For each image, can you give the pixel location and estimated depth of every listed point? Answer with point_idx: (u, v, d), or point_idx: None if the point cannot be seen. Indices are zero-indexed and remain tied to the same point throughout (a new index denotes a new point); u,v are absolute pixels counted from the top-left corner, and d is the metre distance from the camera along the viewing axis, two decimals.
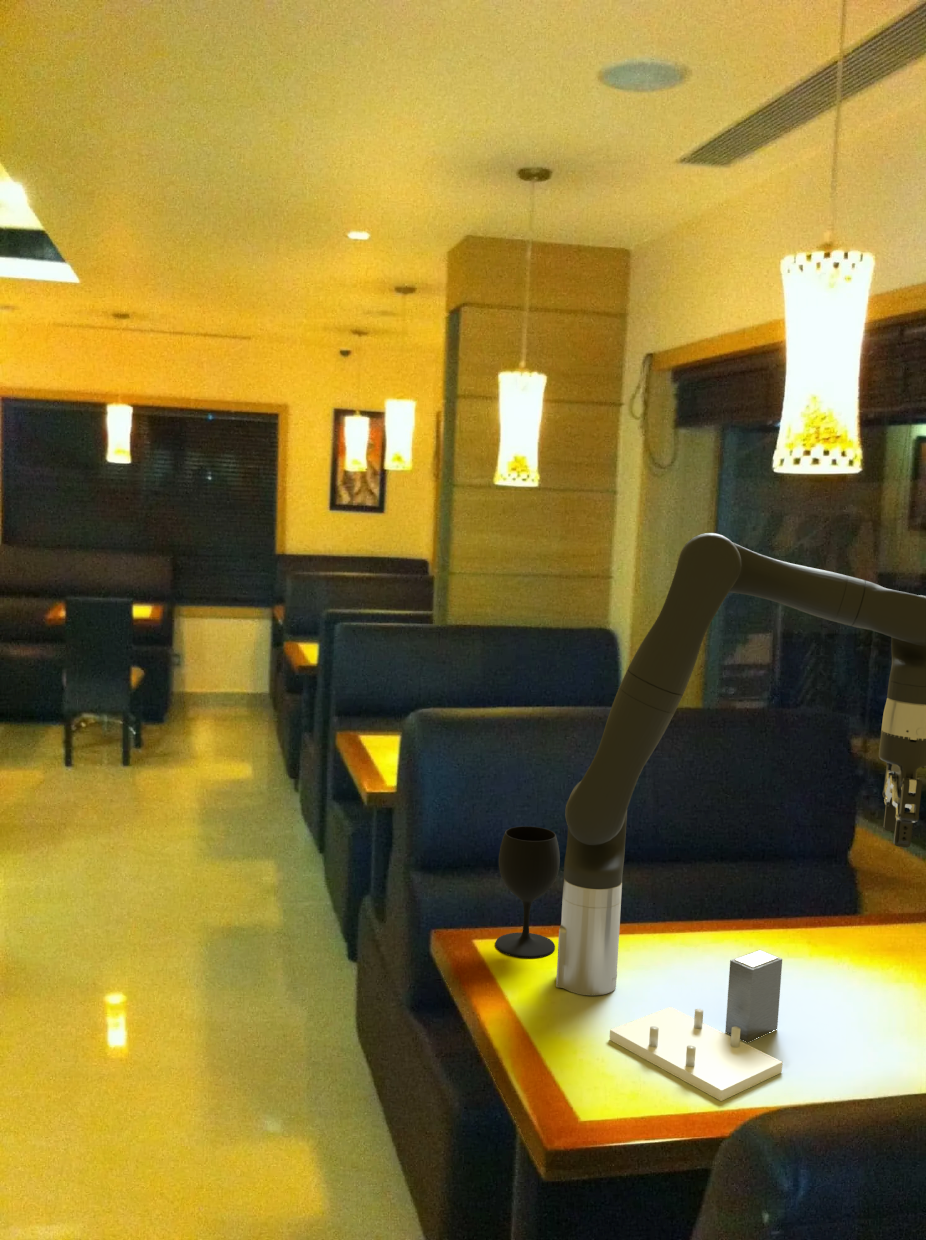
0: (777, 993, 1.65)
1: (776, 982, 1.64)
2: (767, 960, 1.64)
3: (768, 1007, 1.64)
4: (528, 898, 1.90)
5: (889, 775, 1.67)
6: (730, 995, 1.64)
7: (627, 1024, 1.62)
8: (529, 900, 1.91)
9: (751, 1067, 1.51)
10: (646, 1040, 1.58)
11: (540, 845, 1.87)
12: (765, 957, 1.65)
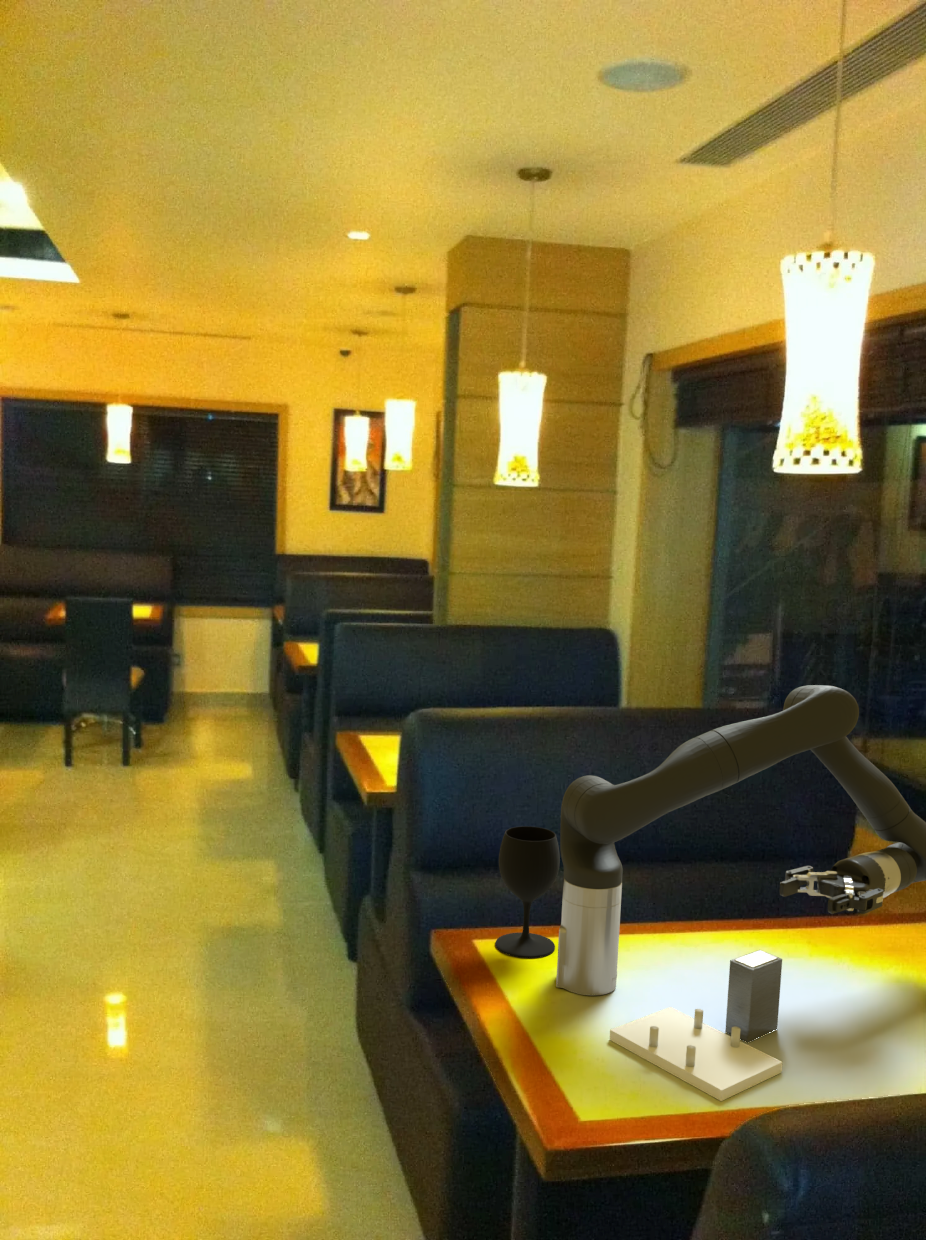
0: (777, 993, 1.65)
1: (776, 982, 1.64)
2: (767, 960, 1.64)
3: (768, 1007, 1.64)
4: (528, 898, 1.90)
5: (837, 874, 1.76)
6: (730, 995, 1.64)
7: (627, 1024, 1.62)
8: (529, 900, 1.91)
9: (751, 1067, 1.51)
10: (646, 1040, 1.58)
11: (540, 845, 1.87)
12: (765, 957, 1.65)
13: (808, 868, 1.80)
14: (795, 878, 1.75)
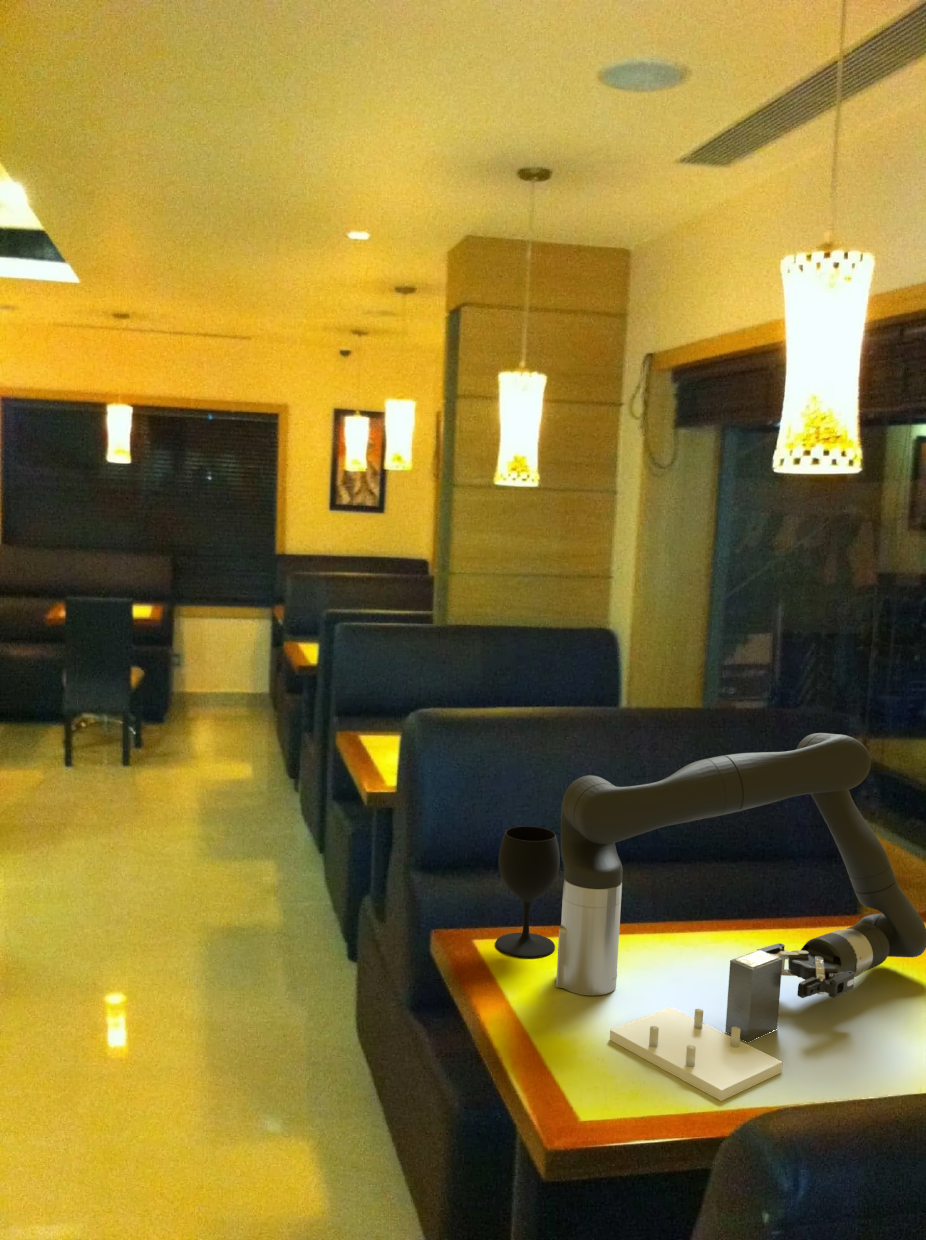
0: (777, 993, 1.65)
1: (776, 982, 1.64)
2: (767, 960, 1.64)
3: (768, 1007, 1.64)
4: (528, 898, 1.90)
5: (808, 954, 1.74)
6: (730, 995, 1.64)
7: (627, 1024, 1.62)
8: (529, 900, 1.91)
9: (751, 1067, 1.51)
10: (646, 1040, 1.58)
11: (540, 845, 1.87)
12: (765, 957, 1.65)
13: (779, 946, 1.78)
14: None
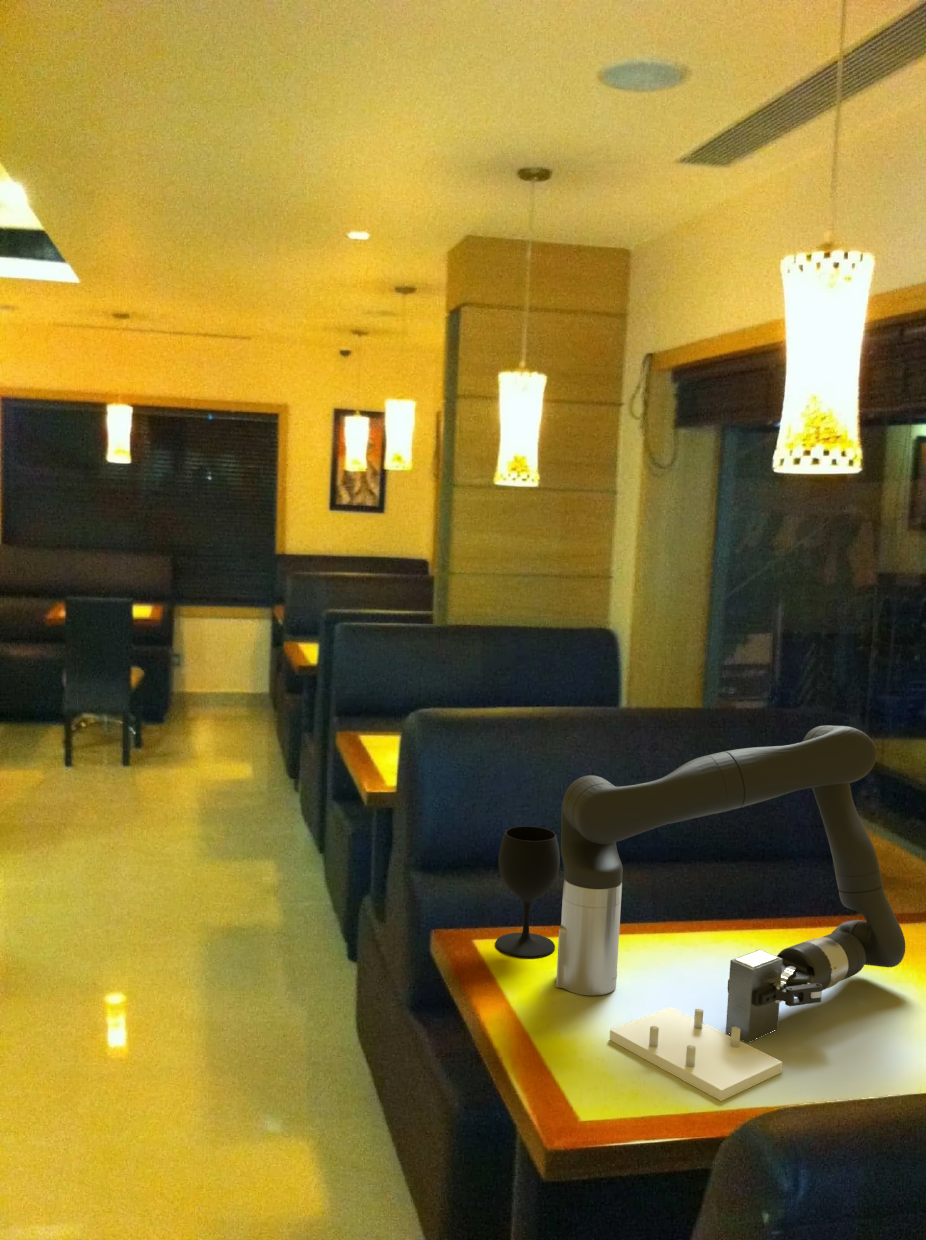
0: None
1: None
2: (767, 960, 1.63)
3: (768, 1006, 1.64)
4: (528, 898, 1.90)
5: None
6: (730, 995, 1.64)
7: (627, 1024, 1.62)
8: (529, 900, 1.91)
9: (751, 1067, 1.51)
10: (646, 1040, 1.58)
11: (540, 845, 1.87)
12: (765, 956, 1.65)
13: None
14: None
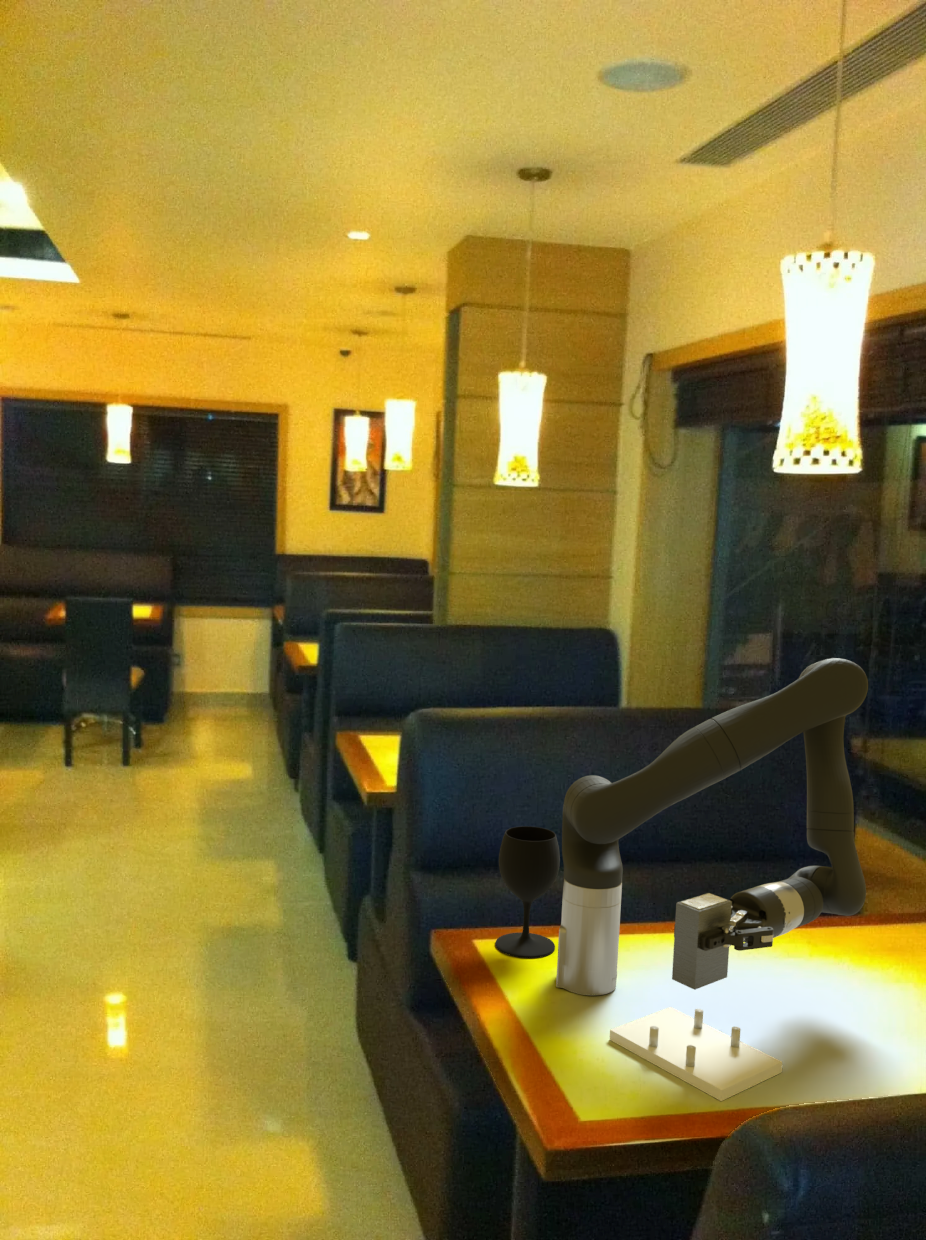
0: None
1: None
2: (715, 902, 1.54)
3: (717, 952, 1.55)
4: (528, 898, 1.90)
5: (732, 908, 1.60)
6: (676, 939, 1.54)
7: (627, 1024, 1.62)
8: (529, 900, 1.91)
9: (751, 1067, 1.51)
10: (646, 1040, 1.58)
11: (540, 845, 1.87)
12: (714, 899, 1.56)
13: None
14: None
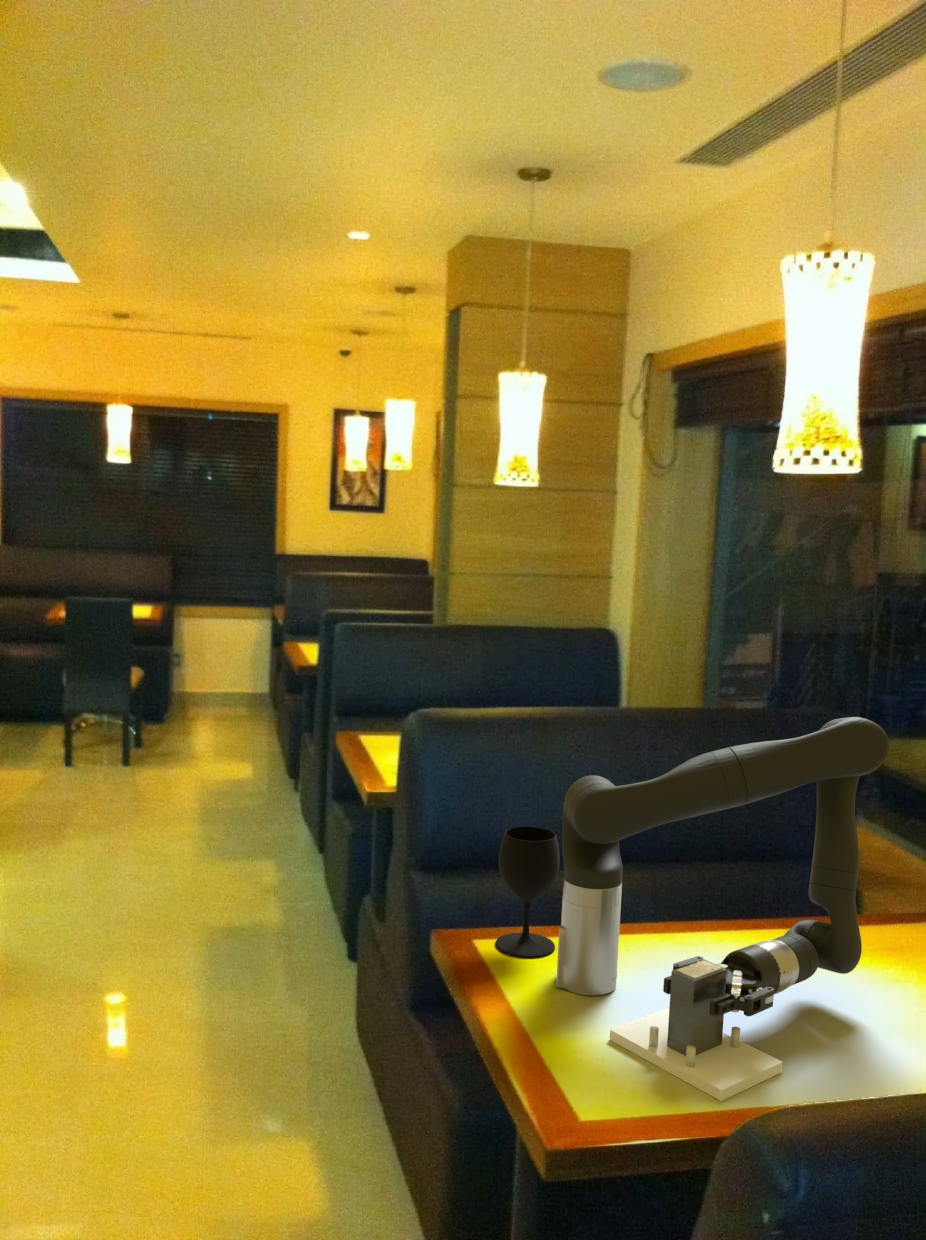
0: None
1: (720, 994, 1.56)
2: (710, 970, 1.55)
3: (711, 1019, 1.56)
4: (528, 898, 1.90)
5: (727, 968, 1.61)
6: (672, 1007, 1.55)
7: (627, 1024, 1.62)
8: (529, 900, 1.91)
9: (751, 1067, 1.51)
10: (646, 1040, 1.58)
11: (540, 845, 1.87)
12: (709, 967, 1.57)
13: (698, 959, 1.65)
14: None
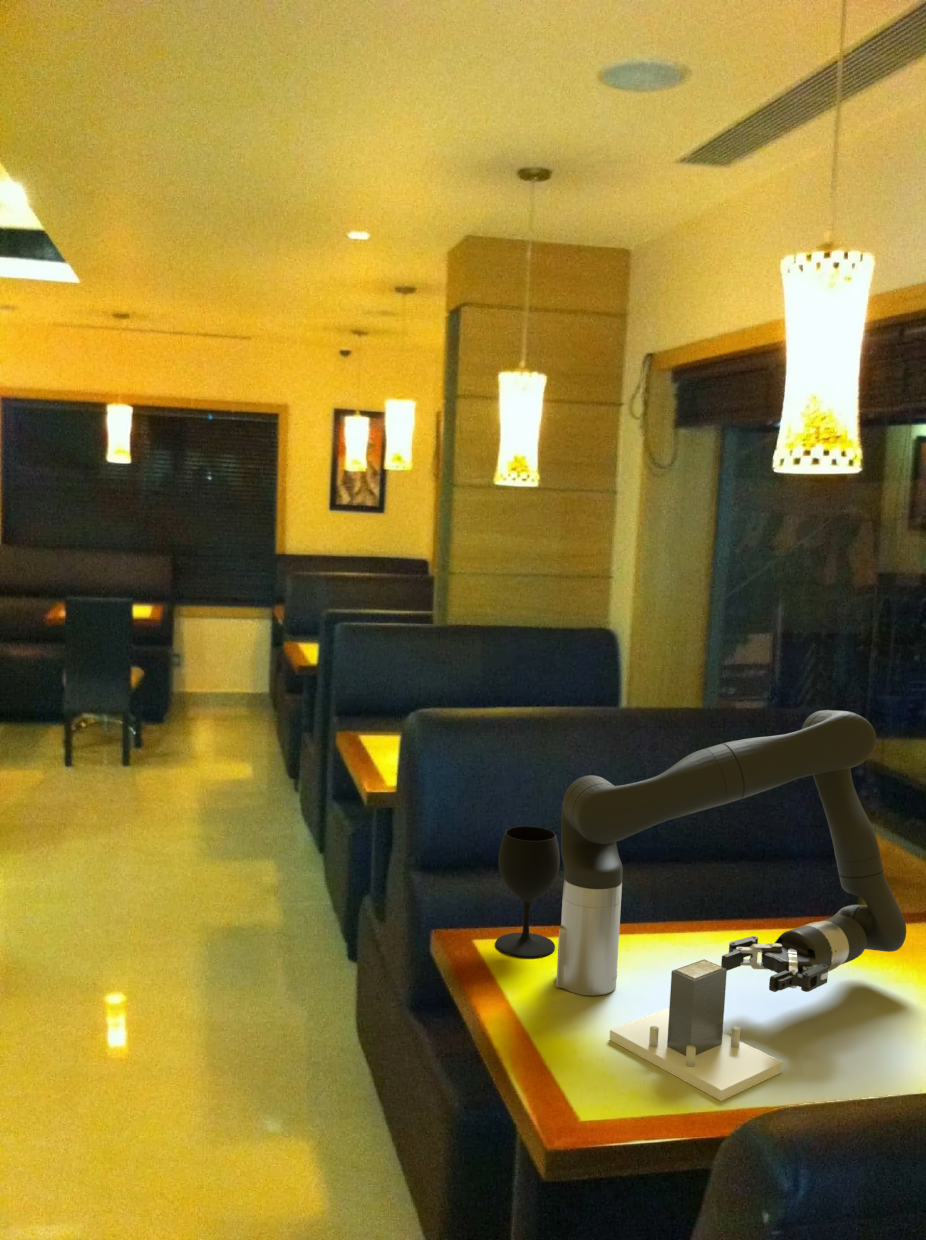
0: (722, 1005, 1.57)
1: (720, 994, 1.56)
2: (710, 970, 1.55)
3: (711, 1019, 1.56)
4: (528, 898, 1.90)
5: (781, 947, 1.69)
6: (672, 1007, 1.55)
7: (627, 1024, 1.62)
8: (529, 900, 1.91)
9: (751, 1067, 1.51)
10: (646, 1040, 1.58)
11: (540, 845, 1.87)
12: (709, 967, 1.57)
13: (753, 939, 1.73)
14: (738, 951, 1.68)
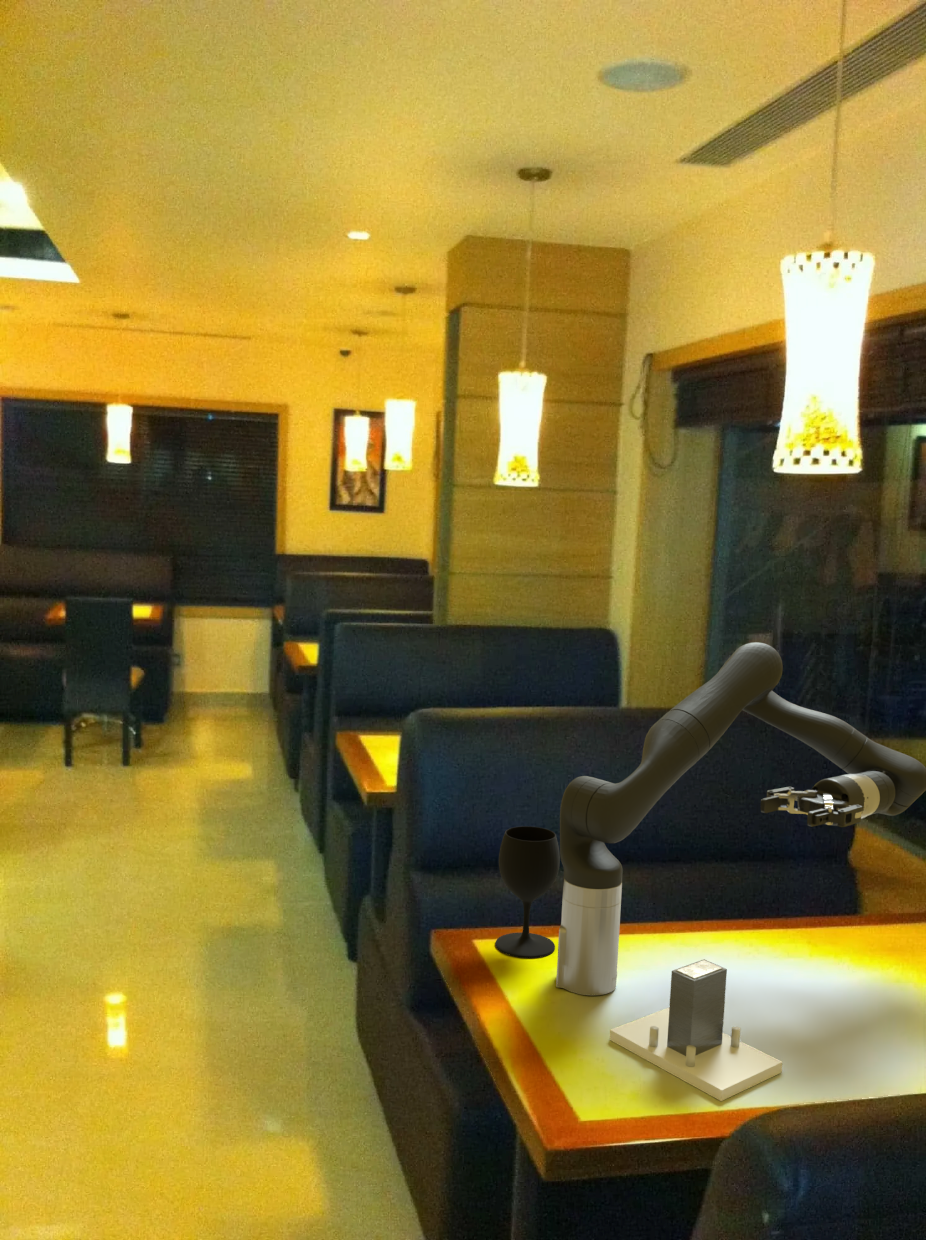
0: (722, 1005, 1.57)
1: (720, 994, 1.56)
2: (710, 970, 1.55)
3: (711, 1019, 1.56)
4: (528, 898, 1.90)
5: (817, 792, 1.79)
6: (672, 1007, 1.55)
7: (627, 1024, 1.62)
8: (529, 900, 1.91)
9: (751, 1067, 1.51)
10: (646, 1040, 1.58)
11: (540, 845, 1.87)
12: (709, 967, 1.57)
13: (789, 788, 1.83)
14: (776, 796, 1.79)
